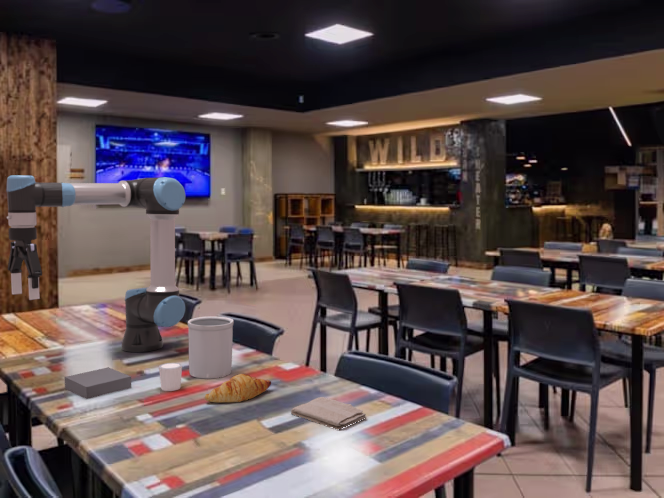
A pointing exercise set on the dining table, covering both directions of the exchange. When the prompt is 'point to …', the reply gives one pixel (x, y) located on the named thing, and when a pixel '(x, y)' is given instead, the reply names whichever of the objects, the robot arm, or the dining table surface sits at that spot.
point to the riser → (97, 382)
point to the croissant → (238, 389)
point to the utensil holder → (210, 346)
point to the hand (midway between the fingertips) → (25, 296)
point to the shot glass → (170, 376)
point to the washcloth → (329, 412)
